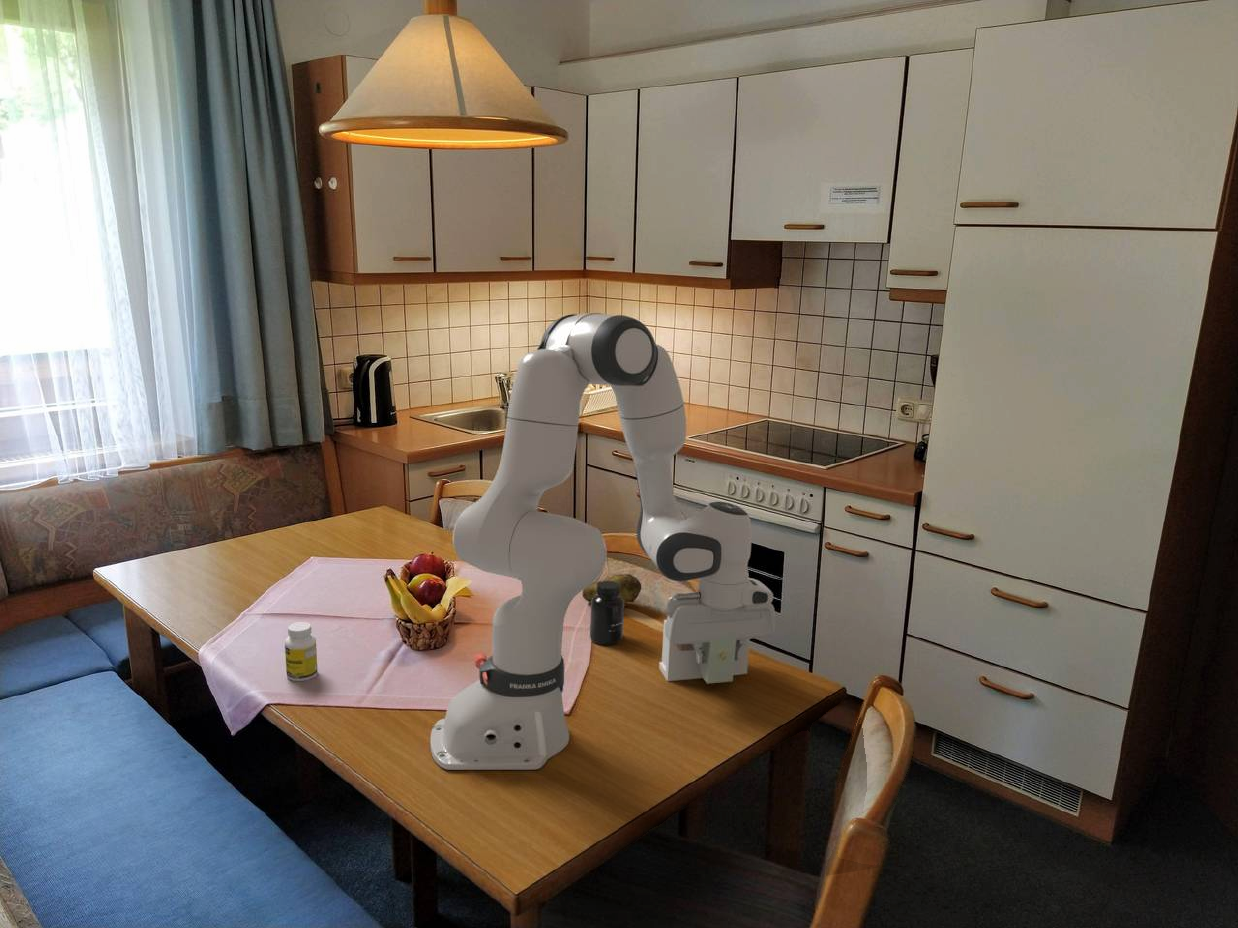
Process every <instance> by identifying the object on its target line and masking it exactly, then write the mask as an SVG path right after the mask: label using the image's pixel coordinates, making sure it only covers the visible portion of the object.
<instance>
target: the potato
mask: <svg viewBox="0 0 1238 928" xmlns="http://www.w3.org/2000/svg"><path fill="white" fill-rule="evenodd" d="M601 581H602V580H601ZM601 581H595V582H594V583H593V584H592V585H591V586H589V587H588V588H586V589H584V590H582V597H583V599H584V600H585V601H587V602H588V603H590V604H591V600H592V598H593V597H594V596H595V595H596V594H597V593H596V589H597V584H598V583H599V582H601ZM604 581H614V582H617V583H619V584H620V596H621V597H622V598H623V600H624V604H625V603H626V604H627V603H635V601H636V600H637V598H638V597H639V594H640V593H641V591H642V584H641V582H640V580H639V579H638V578H637V577H636V576H634V575H632V574H629V573H624V574H615V575H612V576H610V577H609V578H607V579H604Z"/></svg>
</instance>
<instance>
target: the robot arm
mask: <svg viewBox="0 0 1238 928" xmlns="http://www.w3.org/2000/svg"><path fill="white" fill-rule="evenodd" d="M536 348H537V349H536V350H532V351H530V352H528V353H526V354H524V356H523V357H522V358H521V359H520V362H519V364H518V366H517V369H516V372H515V376H514V380H513V383H512V388H511V391H510V396H509V401H508V405H507V406H508V408H507V415H506V424H505V432H504V439H503V445H502V452H501V456H500V461H499V465H498V468H497V472H496V473H495V477H494V478H493V481H492V482H491V484H490V486H489V487H488V488H487V490H486V491H485V493H484V494H482V496H481V497H480V498H478V500H477V501H475V502H474V503H472V504H470V505H468V506H467V507H466V508H465V509H464V510H463V511H462V512H461V513H460V514H459V515H458V518H457V520H456V521H455V524H454V527H453V532H452V543H453V545H452V546H453V548H454V552H455V554H456V556H457V557H458V559H460V560H461V561H463V562H465V563H466V564H468V565H471V566H472V567H474V568H477V569H479V570H480V571H482V572H486V573H489V574H495V575H499V576H504V577H507V578H512V579H515V580H516V579H517V580H518V581H520V582H521V585H522V588H521V590H522V591H521V594H520V595H517V596H514V597H511V598H510V599H507V600H506V601H504V602H503V603H502V604H500V606H499V607H498V608H497V609H496V611H495V613H494V615H493V618H492V621H491V622H492V623H491V624H492V628H491V629H492V631H491V632H492V633H491V634H492V635H491V636H492V637H491V639H492V642H491V643H492V645H491V647H492V648H491V651H492V652H491V656H490V657H489V658H487V655H485V653H482V652H481V653H479V652H478V653H477V654H476V655H475V656H474V659H473V660H474V663H475V665H474V666H475V667H476V668H477V669H478V670H479V671H478V672H479V673H478V675H479V676H478V679H477V680H476V681H475V682H473V683H471V684H470V685H469V686H467V687H466V688H464V689H463V690H461V691H460V692H458V693H457V694H455V695H454V696H453V697H452V698H451V700H450V702H449V703H448V706H447V709H446V711H445V717H444V718H442V719H439V720H438V721H437V722H436V723H435V724H434V725H433V727H432V729H431V732H430V739H429V740H430V742H429V743H430V745H429V746H430V751H431V755H432V757H433V759H434V761H435V762H436V763H437V765H438V766H439V767H441V768H442V769H444V770H453V771H454V770H455V771H457V770H459V771H460V770H461V771H463V770H468V771H469V770H470V771H474V770H477V771H479V770H480V771H481V770H482V771H483V770H484V771H485V770H486V771H487V770H488V771H489V770H495V771H497V770H500V771H501V770H502V771H503V770H505V771H506V770H507V771H508V770H510V771H511V770H512V771H513V770H538V769H540V768H542V767H543V766H544V765H545V764H546V762H547V761H548V759H550V758H552V757H554V756H556V755H557V754H559V753H560V752H562V750H564V749H565V747H566V746H567V745H568V744H569V741H570V731H569V729H568V727H567V726H568V725H567V722H566V715H565V710H564V704H563V703H564V702H563V691H564V685H565V660H564V658H563V655H562V644H563V631H564V621H565V615H566V613H567V610H568V608H569V607H570V604H571V602H572V601H573V599H574V598H575V597H576V596H577V595H578V594H579V593H581V592H583V590H584V589H586V588H588V587H589V586H591V585H592V584H593V583H595V582H597V581H598V579H599V578H600V576H601V574H602V573H603V571H604V569H605V566H606V563H607V556H608V553H607V551H608V550H607V545H606V541H605V538H604V536H603V534H602V532H601V531H600V529H598V528H597V527H594V526H592V525H590V524H589V523H586V522H584V521H581V520H579V519H576V518H574V517H571V516H567V515H565V516H564V515H560V514H554V513H550V512H549V513H548V512H543V511H539V510H538V507H539V502H540V499H541V498H542V495H543V494H544V492H545V491H546V490H549V489H552V488H555V487H556V486H560V485H561V484H563V483H565V481H566V480H567V479H568V478H569V477H570V476H571V474H572V473H573V470H574V464H575V459H576V458H575V455H576V449H577V439H578V432H579V431H578V430H579V424H580V423H579V421H580V412H581V411H580V408H581V400H582V398H583V395H584V393H585V391H586V389H587V388H588V386H589V385H590V384H591V385H609V386H610V388H612V391H613V393H614V395H615V401H616V402H615V403H616V407H617V413H618V419H619V422H620V427H621V431H622V433H623V438H624V440H625V443H626V445H627V448H628V450H629V453H630V455H631V457H632V461H633V464H634V469H635V475H636V481H637V486H638V493H639V499H640V513H639V519H638V522H637V523H638V524H637V526H636V527H637V528H636V539H637V543H638V546H639V547H640V549H641V550H642V552H644V554H646V555H647V556H648V557H649V558H650V559H651V561H652V563H653V564H654V565H655V566H656V568H657V569H658V571H659V572H660V573H661V574H662V575H663V576H664V577H666V578H667V579H669V580H671V581H677V582H686V581H691V580H697V579H698V587H697V588H698V589H697V590H698V591H697V592H695V591H693V592H686V593H683V592H682V593H681V592H680V593H676V594H674V596H671V597H670V598H669V599H668V601H667V603H666V604H667V605H666V614H667V618H666V620H667V621H666V628H665V635H666V637H667V638H668V640H669V641H670V642H671V643H672V644H673V645H681V644H692V646H693V647H694V649H695V651H696V661H697V662H698V664H704V663H707V660H706V659H707V654H705V652H704V651H700V649H699V647H700V648H701V647H702V643H704V642H710V638H717V637H730V636H737V637H736V640H737V643H736V649H735V661H737V660H740V652H741V651H742V650H743V648H744V647H745V646H746V644H747V639H760V638H761V639H762V638H763V639H764V638H770V637H772V635H773V634H774V632H775V627H776V613H775V612H776V611H775V607H774V605H773V604H772V602H773V600H774V593H773V592H772V590H771V589H770V588H768V586H766V585H765V584H764V583H762V581H760V580H758V579H755V578H751V577H749V576H750V575H749V570H748V563H749V560H750V558H751V554H752V553H751V552H752V524H751V523H752V522H751V518H750V515H749V514H748V513H747V512H746V511H745V510H744V509H743V508H742V507H740V506H738V505H735V504H733V503H729V502H725V501H712V502H709V503H707V506H705V507H704V508H703V509H702V510H700V511H699V512H698V513H696V514H695V515H692V516H690V517H688V518H687V517H686V515H684V513H683V512H682V510H681V509H680V508H679V506H678V504H677V501H676V495H675V490H674V483H673V476H672V469H671V462H672V461H671V460H672V458H673V456H675V455H676V454H677V453H678V452H679V451H680V450H681V449H682V447H684V444H685V442H686V440H687V416H686V409H685V404H684V399H683V394H682V390H681V385H680V382H679V379H678V375H677V373H676V369H675V367H674V364H673V362H672V359H671V356H670V355H669V353H668V351H667V350H666V349H665V348H664V347H663V346H661V345H659V344H657V343H656V342H655V339H654V337H653V334H652V333H651V331H650V330H649V328H648V327H647V325H645V324H644V323H643V322H641V321H640V320H638V319H636V318H634V317H631V316H627V315H621V314H618V315H612V314H605V313H601V312H589V313H580V314H576V313H574V314H567V315H565V316H562V317H559V318H558V319H555V320H554V321H553V322H552V323H551V324H549V326H548V327H547V328H546V329H545V331H544V333H543V335H542V338H541V341H540V343H539V345H538V346H537V347H536Z"/></svg>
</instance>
